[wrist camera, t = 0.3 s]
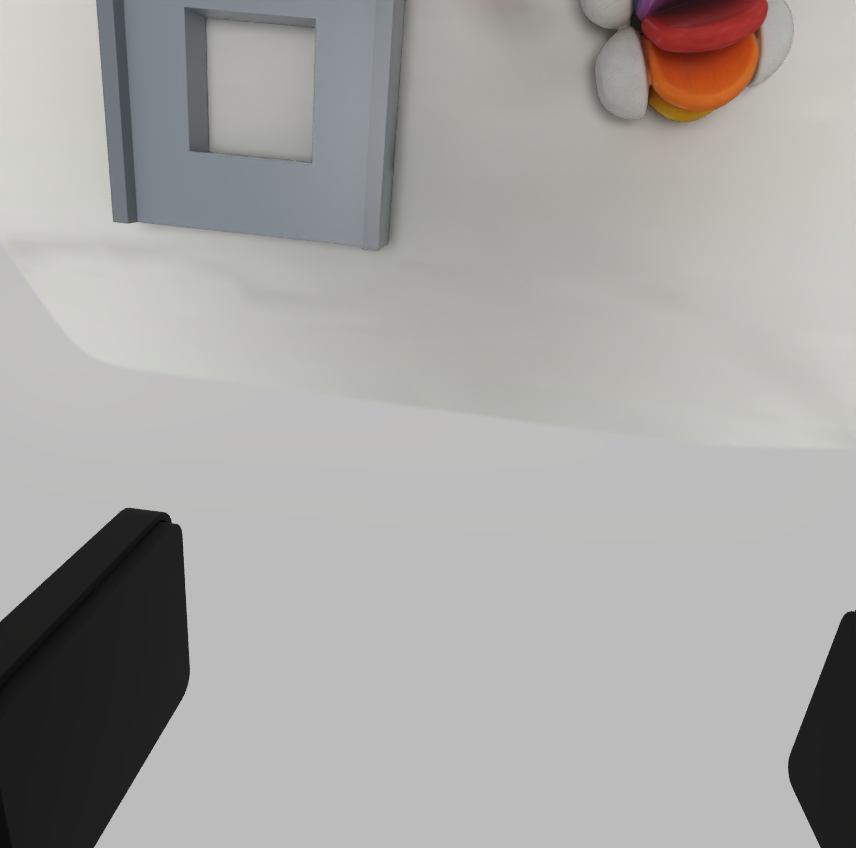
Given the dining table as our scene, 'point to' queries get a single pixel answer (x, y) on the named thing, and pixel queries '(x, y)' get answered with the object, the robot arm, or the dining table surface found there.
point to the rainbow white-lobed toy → (686, 53)
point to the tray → (246, 175)
